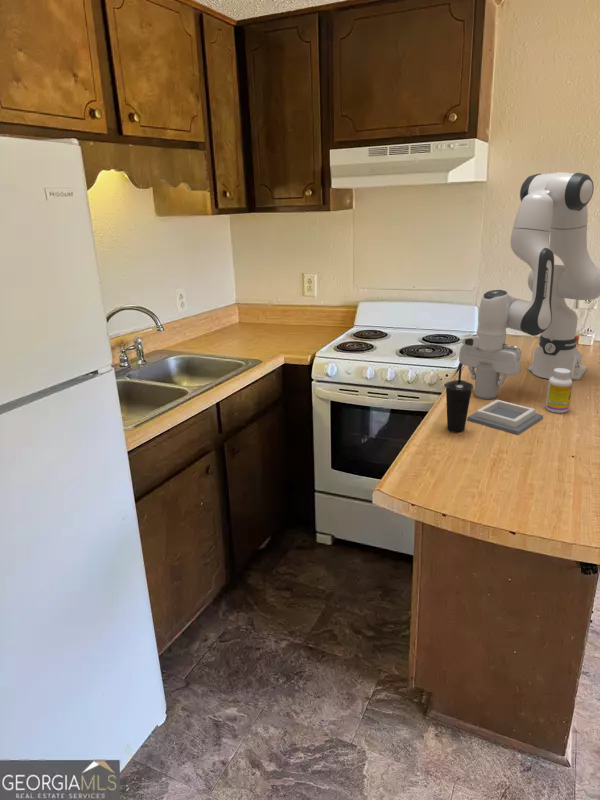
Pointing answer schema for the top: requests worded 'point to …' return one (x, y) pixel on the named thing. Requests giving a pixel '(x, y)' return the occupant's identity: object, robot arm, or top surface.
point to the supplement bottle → (559, 391)
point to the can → (486, 382)
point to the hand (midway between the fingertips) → (487, 382)
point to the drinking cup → (457, 403)
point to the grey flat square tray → (506, 416)
